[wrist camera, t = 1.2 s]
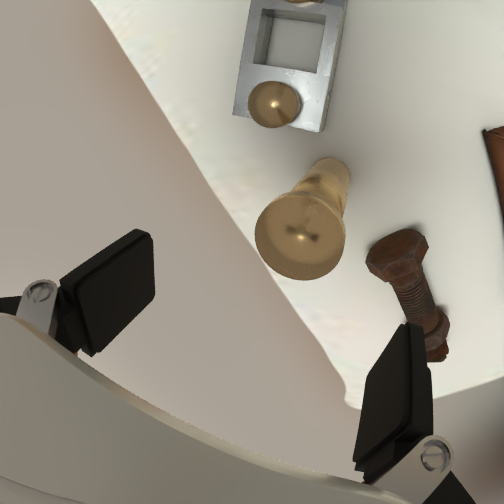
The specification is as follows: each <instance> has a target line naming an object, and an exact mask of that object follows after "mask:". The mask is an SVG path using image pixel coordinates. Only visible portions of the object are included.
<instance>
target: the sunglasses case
mask: <svg viewBox="0 0 504 504" xmlns="http://www.w3.org/2000/svg"><path fill="white" fill-rule="evenodd" d="M483 134H484V139H485V142H486V146H487V149H488V153H489V156H490V160H491V163H492V167H493V170H494V174H495V178H496V183H497V187H498V192H499V197H500V202H501V207H502V213H503V219H504V126H503V127H499V128H495V129H493V130H490V131H488V132H487V131H486V129H484V130H483Z"/></svg>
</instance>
